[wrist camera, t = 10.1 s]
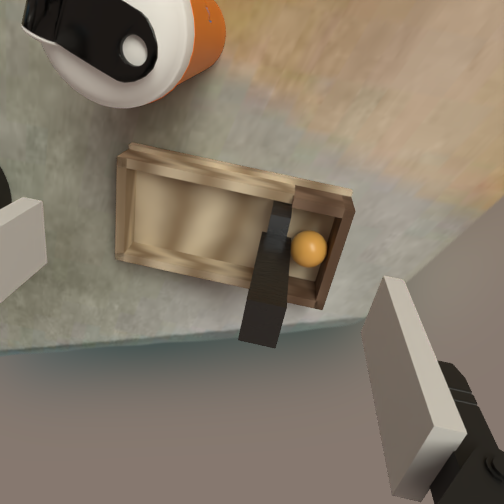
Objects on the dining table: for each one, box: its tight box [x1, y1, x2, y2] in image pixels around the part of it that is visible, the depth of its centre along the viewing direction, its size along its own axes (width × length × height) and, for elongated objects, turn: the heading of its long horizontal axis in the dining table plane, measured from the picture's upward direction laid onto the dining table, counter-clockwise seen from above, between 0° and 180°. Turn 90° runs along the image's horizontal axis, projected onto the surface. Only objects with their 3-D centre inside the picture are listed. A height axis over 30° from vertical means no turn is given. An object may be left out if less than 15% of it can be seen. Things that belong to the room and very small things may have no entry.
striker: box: [238, 200, 292, 348], centre depth 38 cm, size 3×8×16 cm, turn 170°
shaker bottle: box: [22, 0, 226, 108], centre depth 29 cm, size 9×9×20 cm
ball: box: [290, 230, 327, 268], centre depth 43 cm, size 4×4×4 cm
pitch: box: [115, 142, 355, 310], centre depth 44 cm, size 24×13×5 cm, turn 80°
